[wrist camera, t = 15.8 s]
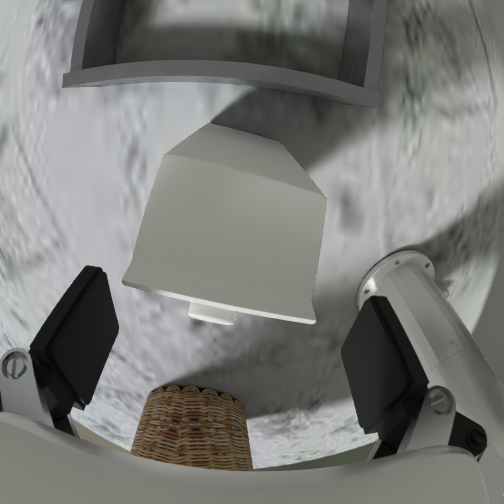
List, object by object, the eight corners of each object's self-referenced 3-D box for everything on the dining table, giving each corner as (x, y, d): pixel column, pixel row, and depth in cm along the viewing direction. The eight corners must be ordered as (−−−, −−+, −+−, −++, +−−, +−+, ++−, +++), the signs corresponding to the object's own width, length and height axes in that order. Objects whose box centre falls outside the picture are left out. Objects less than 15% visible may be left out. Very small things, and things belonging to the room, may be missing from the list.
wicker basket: (97, 394, 50) (70, 512, 22) (170, 337, 38) (140, 560, 10) (209, 440, 64) (207, 538, 36) (309, 404, 52) (329, 540, 23)
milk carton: (208, 122, 23) (126, 182, 7) (281, 142, 24) (362, 242, 8) (190, 190, 26) (124, 343, 10) (259, 207, 28) (281, 373, 11)
